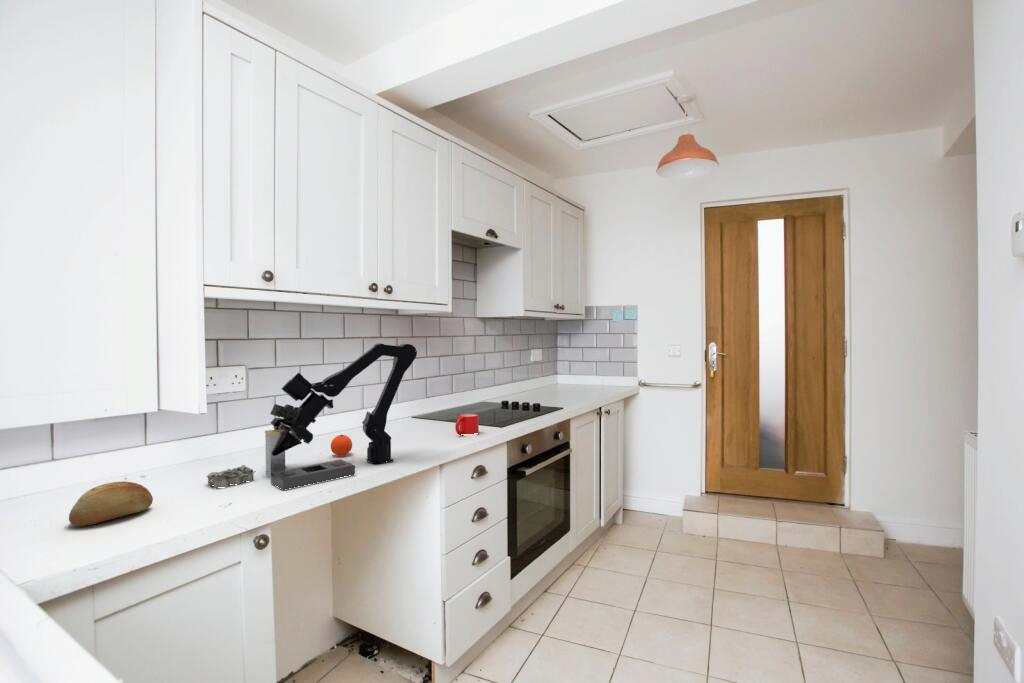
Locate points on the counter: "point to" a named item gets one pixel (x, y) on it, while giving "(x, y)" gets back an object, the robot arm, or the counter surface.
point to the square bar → (271, 442)
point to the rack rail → (311, 474)
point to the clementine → (341, 445)
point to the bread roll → (109, 503)
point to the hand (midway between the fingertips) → (270, 453)
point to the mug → (467, 424)
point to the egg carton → (230, 476)
